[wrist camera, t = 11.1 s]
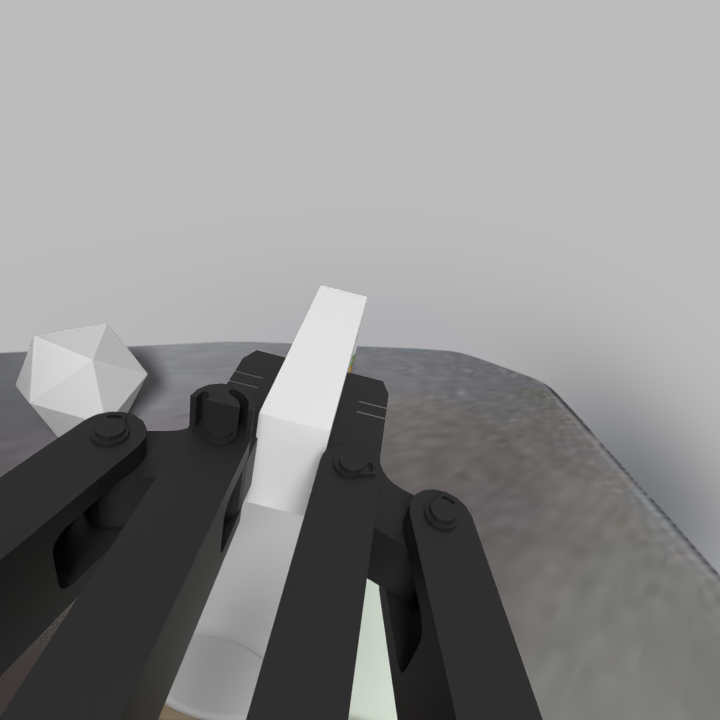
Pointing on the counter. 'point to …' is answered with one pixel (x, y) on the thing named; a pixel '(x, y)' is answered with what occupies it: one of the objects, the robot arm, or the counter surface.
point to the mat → (372, 665)
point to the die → (79, 375)
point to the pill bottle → (237, 618)
